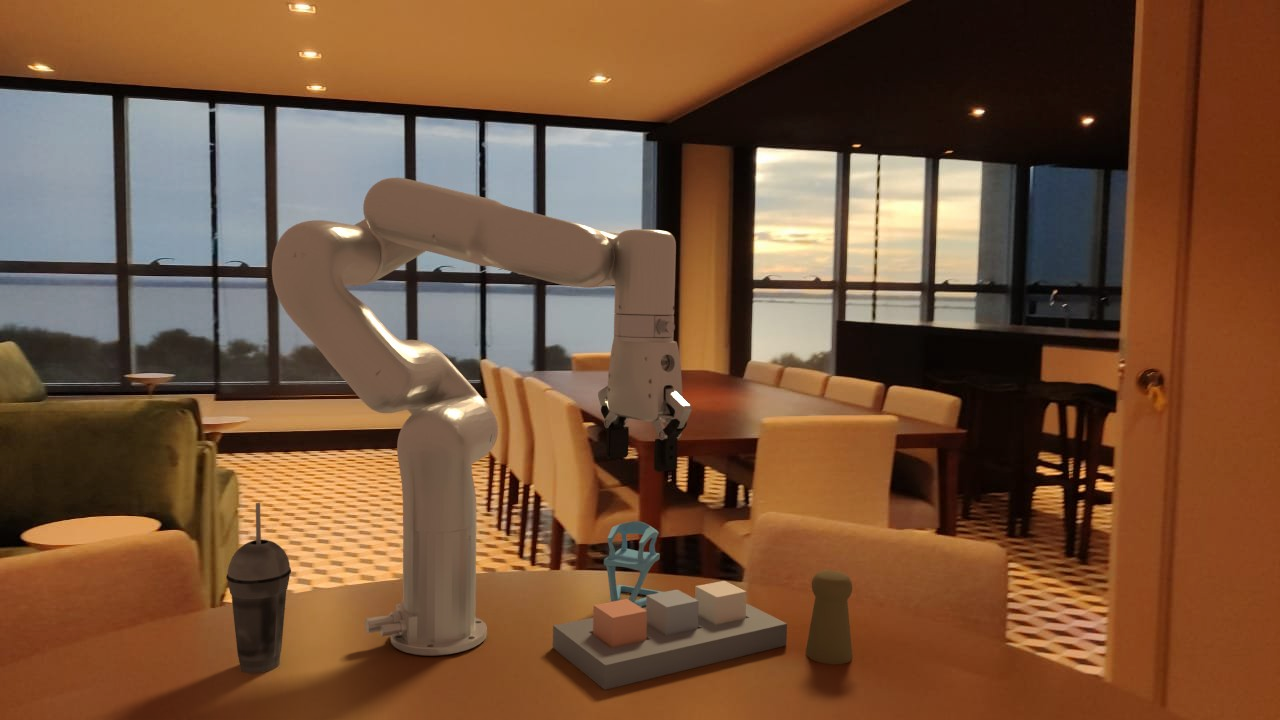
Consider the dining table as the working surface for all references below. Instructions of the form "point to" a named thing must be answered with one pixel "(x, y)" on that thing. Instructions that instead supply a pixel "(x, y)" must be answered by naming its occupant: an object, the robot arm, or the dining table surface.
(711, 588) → the cream button
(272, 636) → the beverage cup
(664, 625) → the slate button
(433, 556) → the robot arm
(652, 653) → the button panel
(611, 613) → the terracotta button
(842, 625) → the cork
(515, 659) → the dining table surface
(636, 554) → the chair
